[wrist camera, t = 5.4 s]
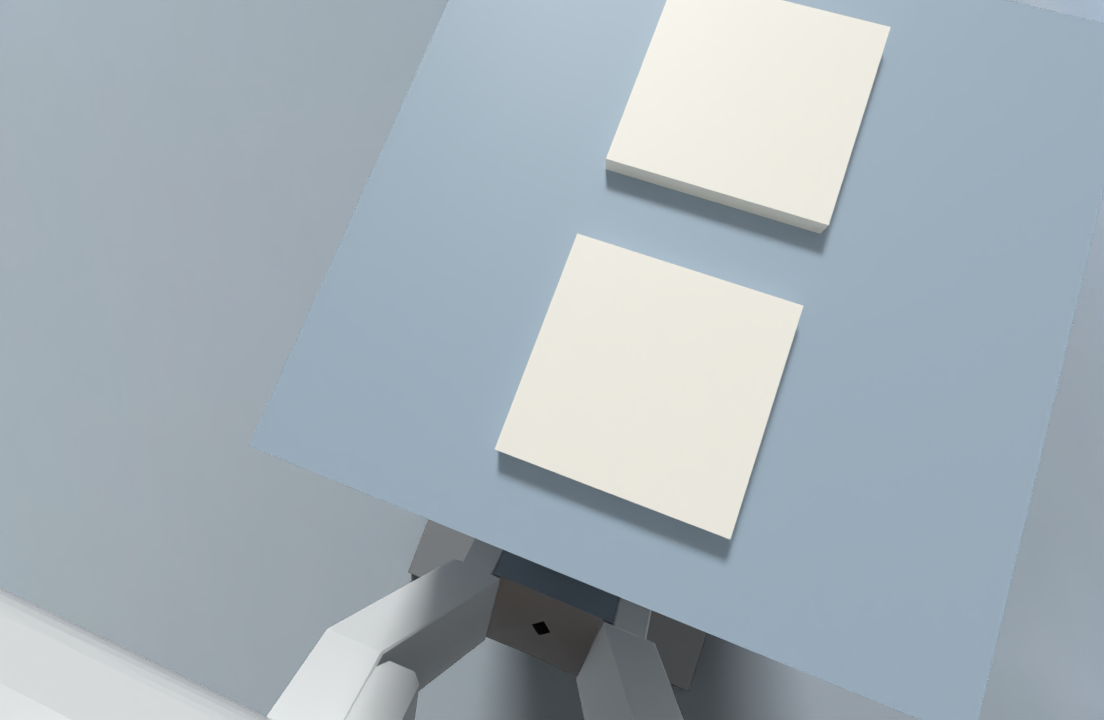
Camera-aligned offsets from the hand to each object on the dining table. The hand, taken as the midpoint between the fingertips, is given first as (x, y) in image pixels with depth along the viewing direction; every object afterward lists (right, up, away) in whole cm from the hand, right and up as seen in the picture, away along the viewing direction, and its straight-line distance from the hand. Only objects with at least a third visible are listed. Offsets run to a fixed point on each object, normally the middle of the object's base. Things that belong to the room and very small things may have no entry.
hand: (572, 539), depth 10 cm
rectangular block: (+2, +2, +6) cm, 7 cm away
